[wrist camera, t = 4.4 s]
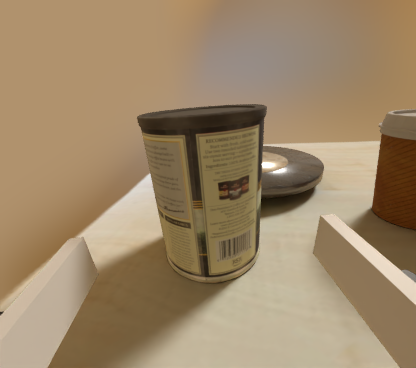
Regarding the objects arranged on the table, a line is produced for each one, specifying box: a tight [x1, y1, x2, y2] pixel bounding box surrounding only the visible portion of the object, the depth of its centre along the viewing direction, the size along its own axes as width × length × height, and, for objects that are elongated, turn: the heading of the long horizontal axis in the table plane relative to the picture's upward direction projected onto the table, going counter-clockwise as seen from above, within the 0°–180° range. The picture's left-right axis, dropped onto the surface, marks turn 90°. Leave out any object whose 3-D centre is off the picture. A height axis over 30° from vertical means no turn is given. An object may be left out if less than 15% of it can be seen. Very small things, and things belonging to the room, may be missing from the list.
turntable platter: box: [261, 146, 324, 198], centre depth 37 cm, size 24×24×2 cm
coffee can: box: [137, 104, 267, 283], centre depth 19 cm, size 10×10×14 cm
